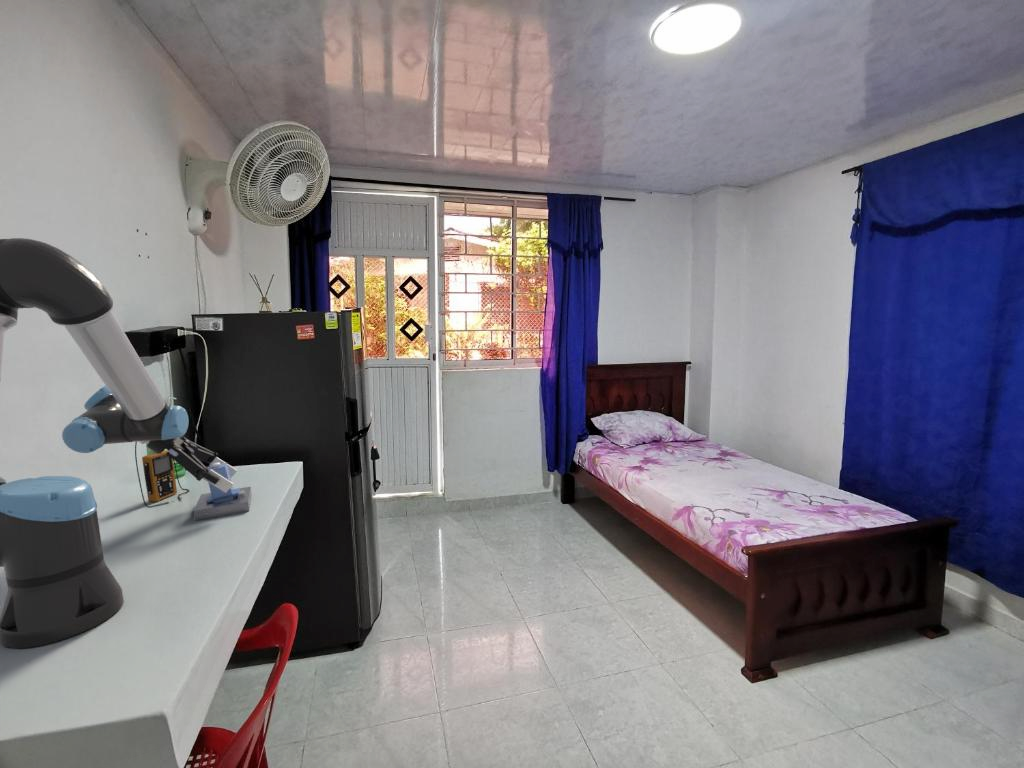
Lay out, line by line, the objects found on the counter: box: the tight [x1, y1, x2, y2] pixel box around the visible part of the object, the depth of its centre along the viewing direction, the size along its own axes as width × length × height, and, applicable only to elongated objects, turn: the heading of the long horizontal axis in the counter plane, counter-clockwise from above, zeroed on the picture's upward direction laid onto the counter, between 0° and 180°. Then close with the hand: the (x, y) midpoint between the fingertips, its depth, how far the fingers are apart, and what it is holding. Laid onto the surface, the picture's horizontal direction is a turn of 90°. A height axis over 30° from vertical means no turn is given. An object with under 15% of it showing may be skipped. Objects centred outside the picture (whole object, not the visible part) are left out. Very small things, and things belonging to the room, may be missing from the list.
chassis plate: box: [193, 486, 253, 521], centre depth 132 cm, size 14×12×3 cm
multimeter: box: [134, 441, 190, 508], centre depth 140 cm, size 15×10×20 cm
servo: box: [206, 461, 241, 503], centre depth 131 cm, size 4×8×12 cm, turn 115°
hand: (232, 481), depth 132 cm, fingers open, 13 cm apart
